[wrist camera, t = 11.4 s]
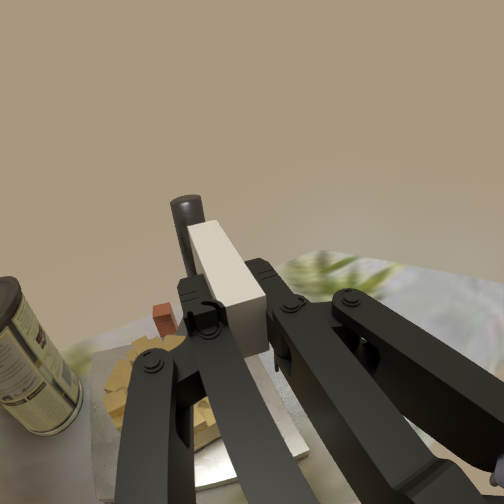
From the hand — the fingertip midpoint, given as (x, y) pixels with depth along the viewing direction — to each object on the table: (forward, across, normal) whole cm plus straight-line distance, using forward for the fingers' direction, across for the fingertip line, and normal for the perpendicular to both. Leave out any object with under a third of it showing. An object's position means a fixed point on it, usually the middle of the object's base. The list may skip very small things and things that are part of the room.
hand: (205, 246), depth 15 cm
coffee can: (+6, -22, -18) cm, 29 cm away
